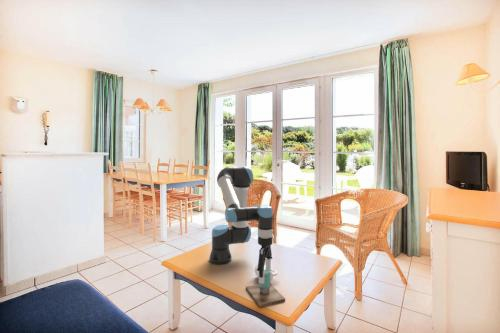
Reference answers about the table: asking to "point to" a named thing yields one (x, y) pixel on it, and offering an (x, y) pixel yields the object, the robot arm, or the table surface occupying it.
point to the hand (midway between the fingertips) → (264, 276)
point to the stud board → (264, 295)
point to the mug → (264, 269)
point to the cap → (266, 279)
